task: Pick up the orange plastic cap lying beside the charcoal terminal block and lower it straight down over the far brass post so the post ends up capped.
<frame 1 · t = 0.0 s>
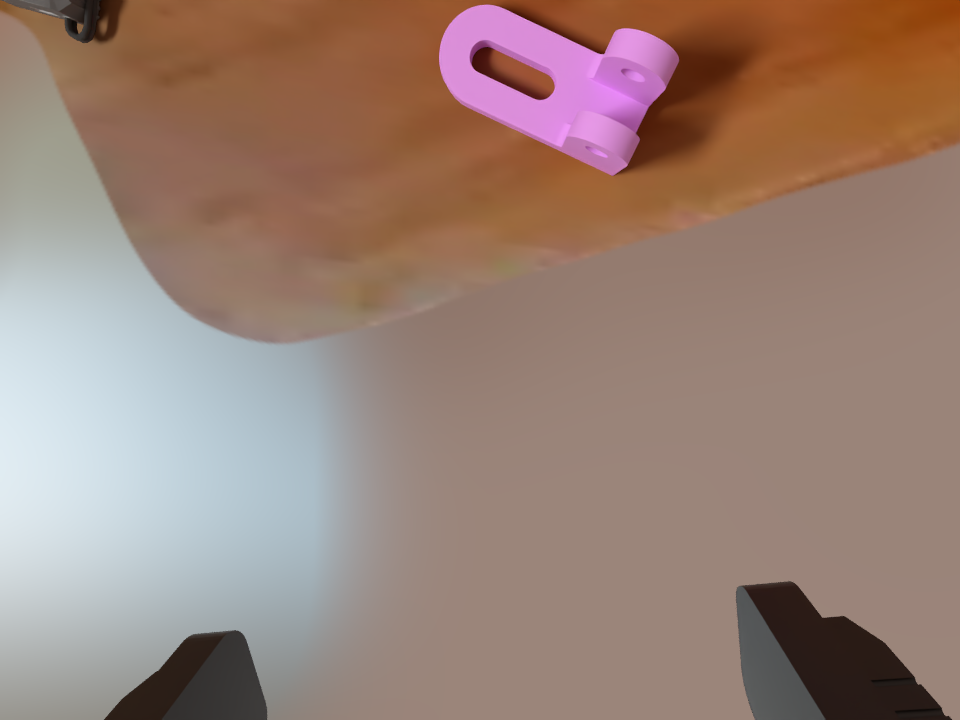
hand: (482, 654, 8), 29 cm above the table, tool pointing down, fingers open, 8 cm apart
bracket: (540, 90, 34), on the table
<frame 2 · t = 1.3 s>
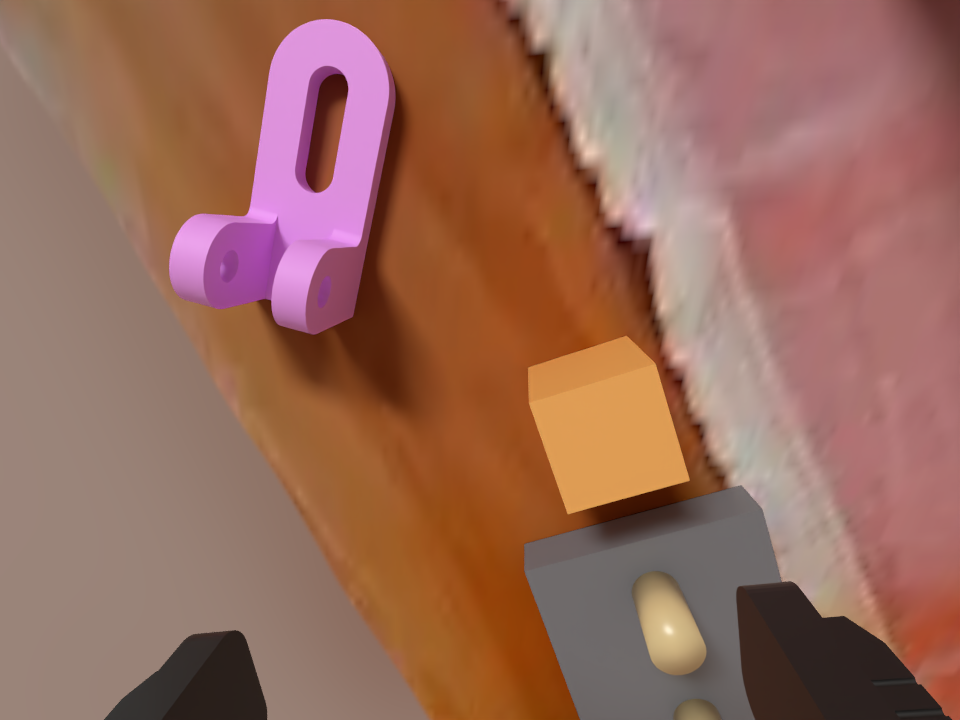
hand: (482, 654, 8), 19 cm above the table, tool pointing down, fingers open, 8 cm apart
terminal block: (664, 622, 30), on the table
bracket: (326, 176, 26), on the table
cap: (591, 398, 27), on the table
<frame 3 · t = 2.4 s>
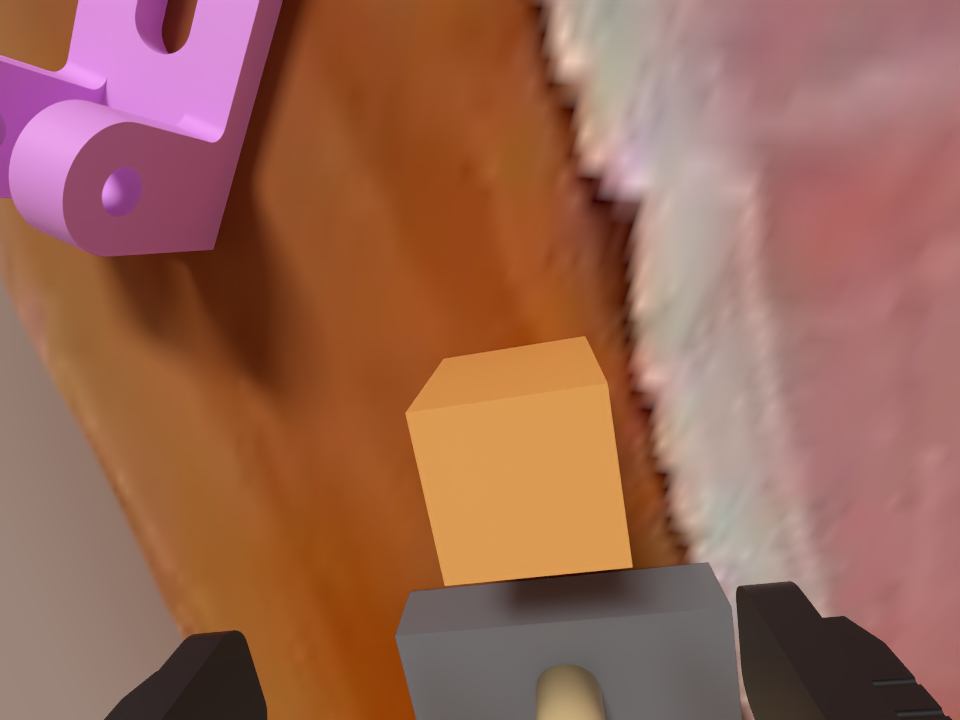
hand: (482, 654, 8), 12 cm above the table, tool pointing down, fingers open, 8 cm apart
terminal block: (578, 719, 23), on the table
bracket: (194, 39, 18), on the table
cap: (524, 414, 20), on the table
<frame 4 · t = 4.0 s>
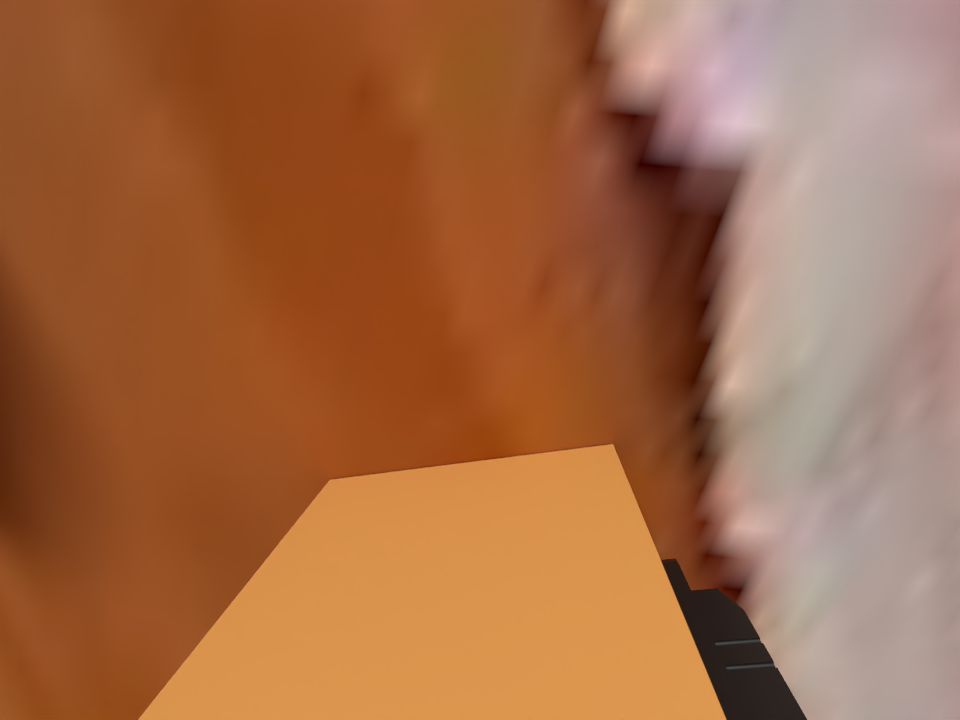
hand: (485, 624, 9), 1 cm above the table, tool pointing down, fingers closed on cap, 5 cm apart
cap: (490, 588, 10), on the table, touching gripper
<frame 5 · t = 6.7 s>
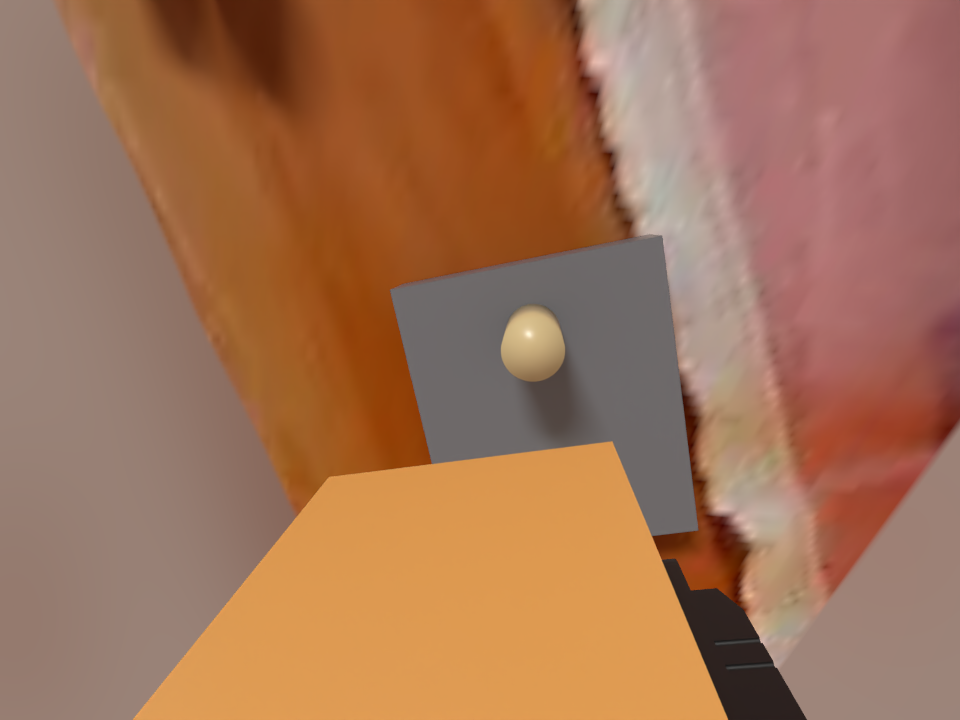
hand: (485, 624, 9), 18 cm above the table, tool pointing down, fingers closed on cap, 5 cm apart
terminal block: (547, 396, 27), on the table
cap: (489, 585, 10), point 17 cm above the table, touching gripper
when the fingers open (5 cm above the table, at t = 9.5 s): cap drops 1 cm, resting on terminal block.
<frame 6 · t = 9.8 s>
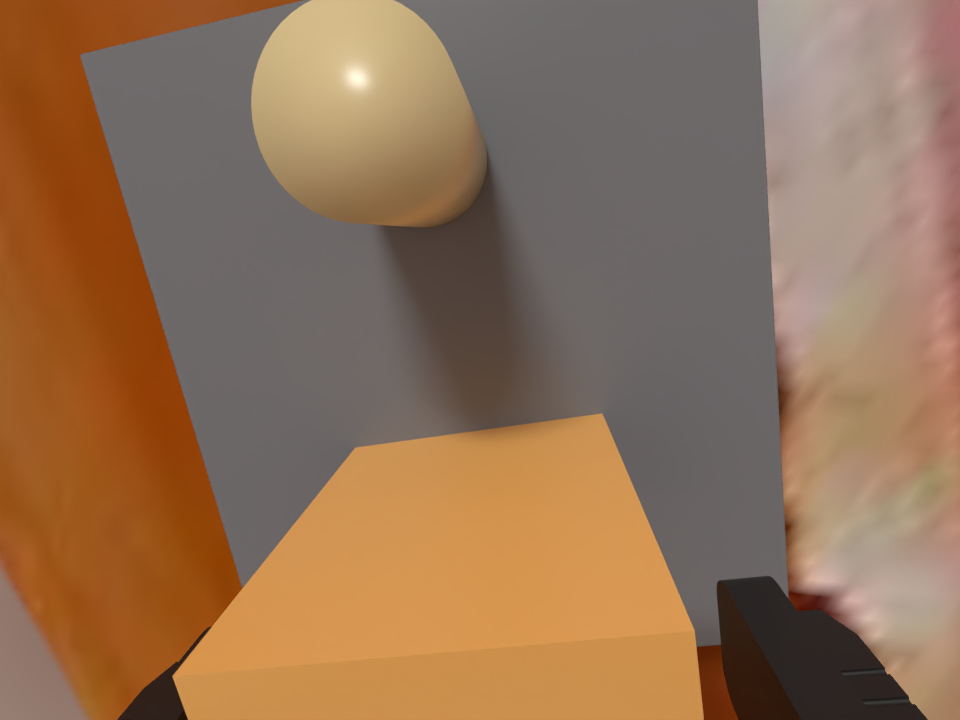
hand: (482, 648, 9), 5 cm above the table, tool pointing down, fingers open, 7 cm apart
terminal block: (473, 343, 13), on the table
cap: (496, 542, 11), point 2 cm above the table, touching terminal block
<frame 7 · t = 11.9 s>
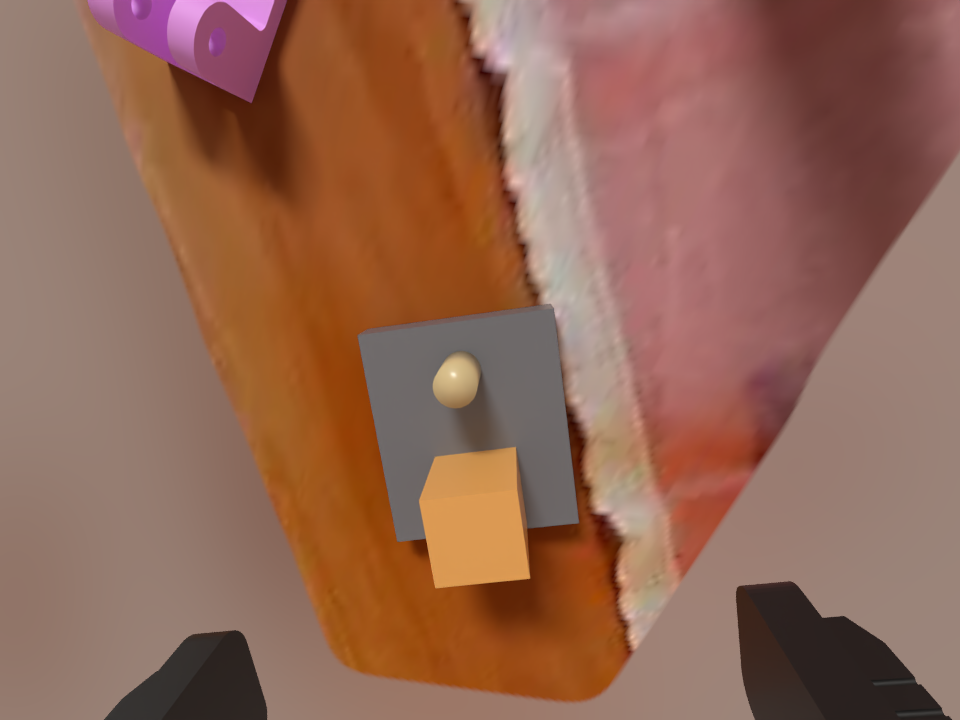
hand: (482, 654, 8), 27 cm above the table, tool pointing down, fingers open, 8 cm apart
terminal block: (473, 419, 36), on the table
cap: (481, 489, 34), point 2 cm above the table, touching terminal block
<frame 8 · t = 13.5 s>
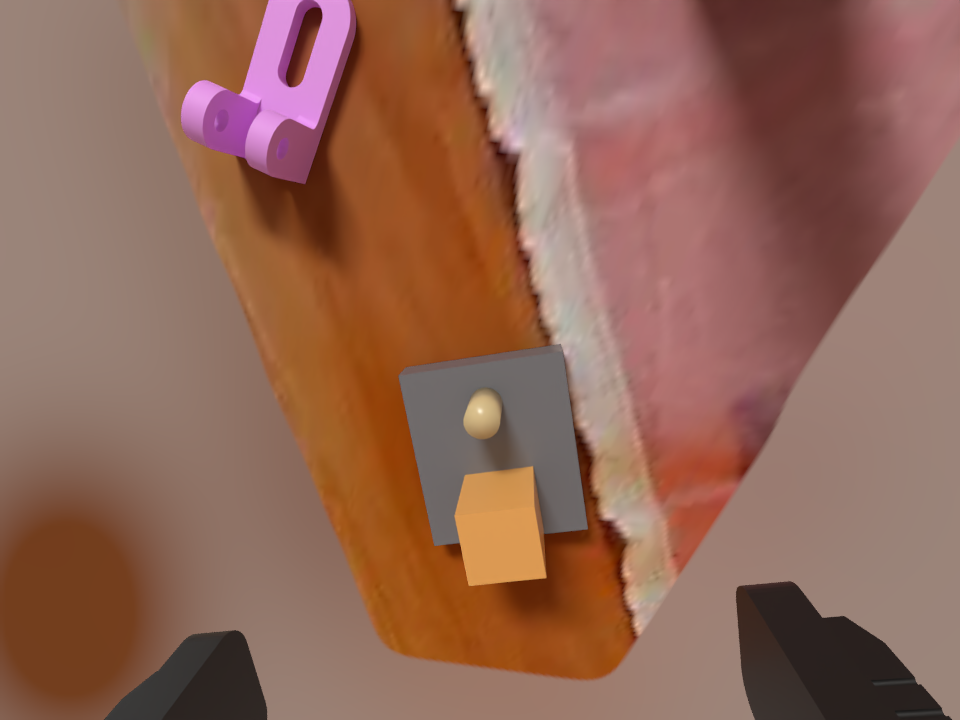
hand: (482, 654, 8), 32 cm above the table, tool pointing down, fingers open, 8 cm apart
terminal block: (496, 441, 42), on the table
bracket: (300, 79, 37), on the table
cap: (504, 502, 40), point 2 cm above the table, touching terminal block
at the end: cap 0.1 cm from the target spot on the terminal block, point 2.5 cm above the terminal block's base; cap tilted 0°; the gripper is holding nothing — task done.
